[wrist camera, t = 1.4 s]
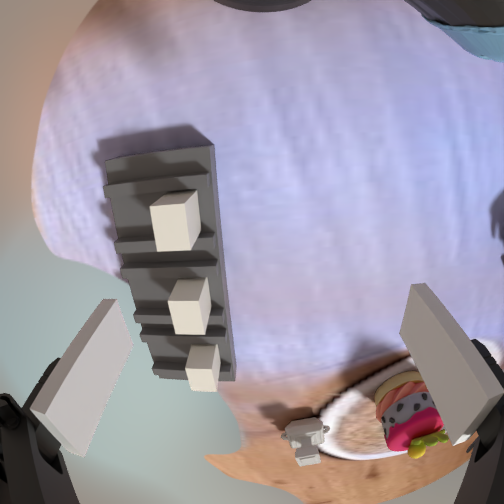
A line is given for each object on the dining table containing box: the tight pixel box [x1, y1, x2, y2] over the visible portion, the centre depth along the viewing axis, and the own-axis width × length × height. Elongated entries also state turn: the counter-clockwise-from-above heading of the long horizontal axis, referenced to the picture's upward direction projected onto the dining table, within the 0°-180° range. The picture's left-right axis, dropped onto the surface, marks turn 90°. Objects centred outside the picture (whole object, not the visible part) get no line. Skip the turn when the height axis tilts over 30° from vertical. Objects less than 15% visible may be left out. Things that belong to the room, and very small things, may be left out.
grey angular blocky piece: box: [281, 417, 330, 466], centre depth 43 cm, size 9×7×8 cm
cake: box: [374, 371, 449, 458], centre depth 37 cm, size 10×11×15 cm
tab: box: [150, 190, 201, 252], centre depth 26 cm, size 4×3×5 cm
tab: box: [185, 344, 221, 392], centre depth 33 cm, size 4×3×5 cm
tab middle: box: [168, 277, 212, 335], centre depth 29 cm, size 4×3×5 cm
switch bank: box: [103, 145, 236, 381], centre depth 33 cm, size 30×11×4 cm, turn 3°
